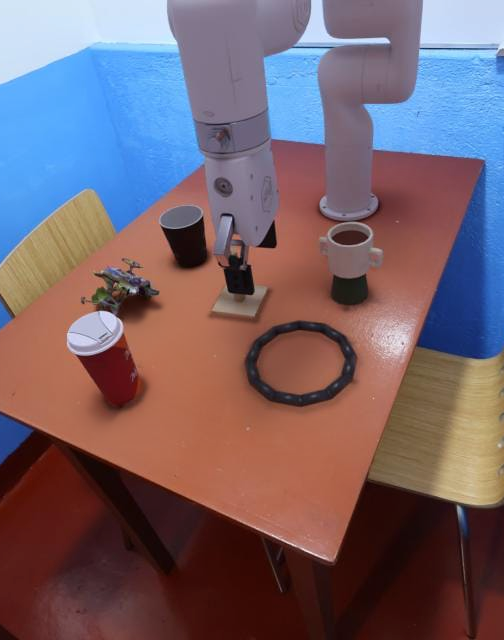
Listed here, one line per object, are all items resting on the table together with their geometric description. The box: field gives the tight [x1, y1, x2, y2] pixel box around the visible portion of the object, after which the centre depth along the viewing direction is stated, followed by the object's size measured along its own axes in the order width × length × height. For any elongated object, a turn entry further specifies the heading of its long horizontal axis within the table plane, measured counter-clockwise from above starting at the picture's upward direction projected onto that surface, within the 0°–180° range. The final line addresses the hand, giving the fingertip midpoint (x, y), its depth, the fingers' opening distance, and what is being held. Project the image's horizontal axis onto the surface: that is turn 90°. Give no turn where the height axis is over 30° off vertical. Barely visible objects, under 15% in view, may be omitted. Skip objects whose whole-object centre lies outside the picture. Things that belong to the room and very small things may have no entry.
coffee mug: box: [158, 204, 208, 269], centre depth 94 cm, size 12×9×10 cm
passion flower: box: [80, 257, 160, 317], centre depth 85 cm, size 11×11×12 cm
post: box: [211, 248, 269, 318], centre depth 80 cm, size 8×8×11 cm
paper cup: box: [66, 310, 143, 408], centre depth 68 cm, size 8×8×14 cm
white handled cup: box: [318, 221, 384, 306], centre depth 77 cm, size 11×7×13 cm, turn 58°
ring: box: [243, 319, 358, 408], centre depth 71 cm, size 17×17×2 cm
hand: (254, 268), depth 58 cm, fingers open, 9 cm apart
